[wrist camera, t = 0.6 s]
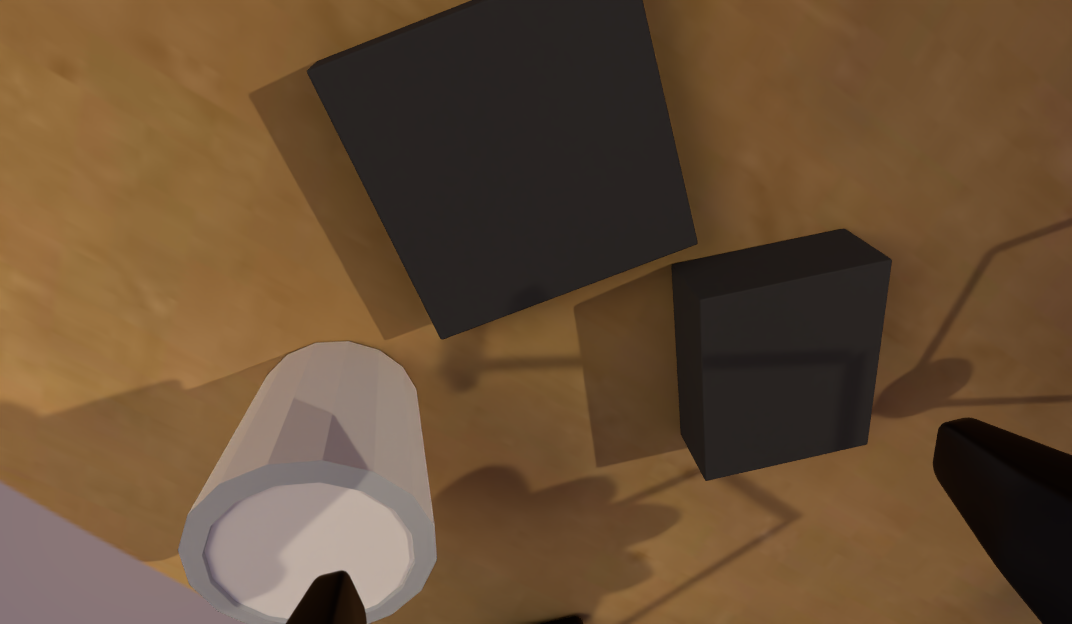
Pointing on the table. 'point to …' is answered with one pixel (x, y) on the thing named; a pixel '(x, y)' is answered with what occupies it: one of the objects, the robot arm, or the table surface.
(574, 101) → the base pad
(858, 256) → the black pad
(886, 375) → the table surface
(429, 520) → the shot glass
